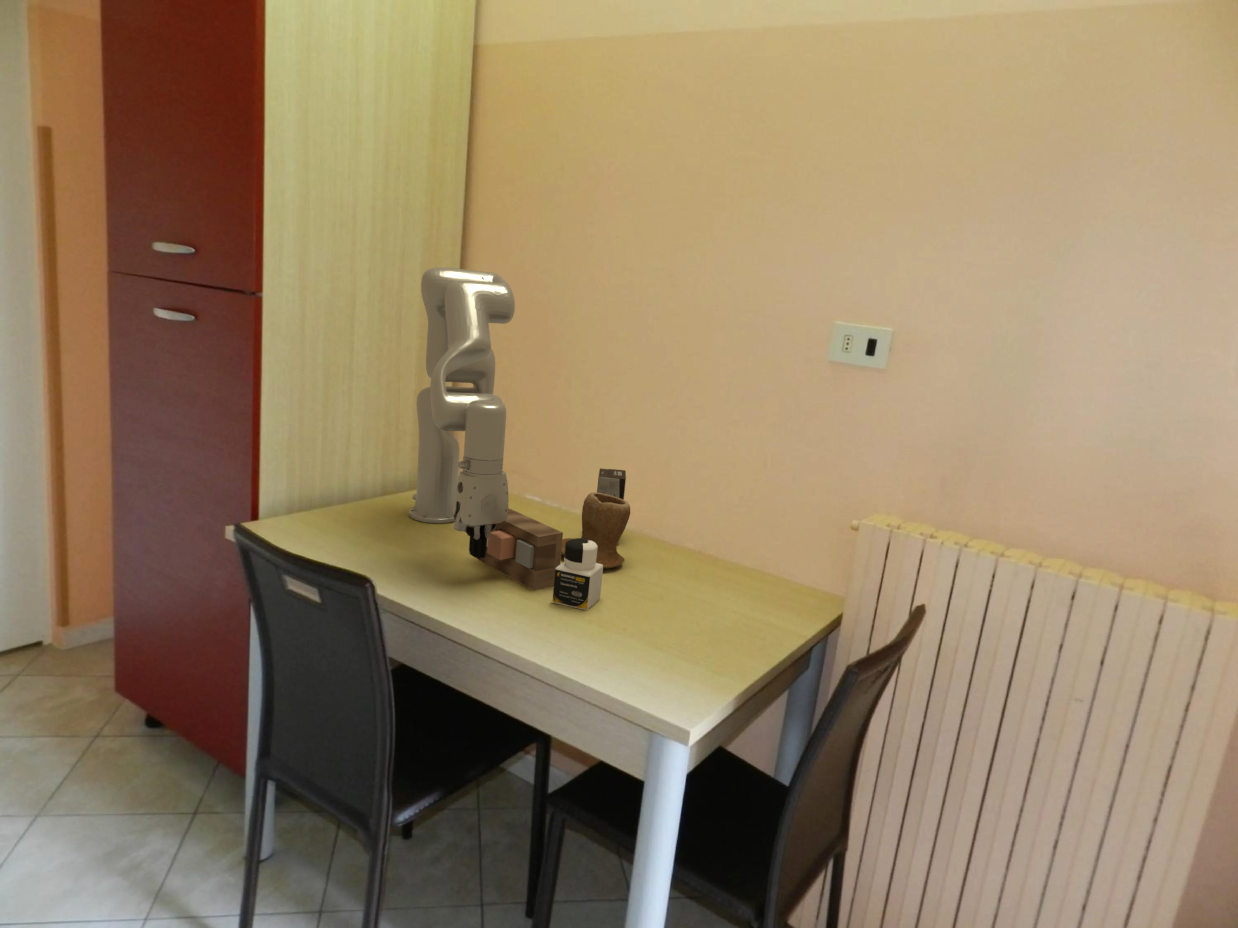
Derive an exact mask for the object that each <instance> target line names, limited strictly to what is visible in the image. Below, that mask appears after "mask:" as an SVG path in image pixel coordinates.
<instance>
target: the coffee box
mask: <svg viewBox="0 0 1238 928" xmlns="http://www.w3.org/2000/svg"><path fill="white" fill-rule="evenodd" d="M598 471H599V472H598V478H597V485H596V486H597V487H596V493H602V494H607V495H611V496H614V497H617V498H620V499H623V500H625V490H626V482H627V477H626V476H627V475H626V470H624V469H623V470H622V469H615V468H614V469H611V468H599V470H598ZM619 543H620V540H619V541H618V543H617V546H619Z"/></svg>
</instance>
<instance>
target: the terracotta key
mask: <svg viewBox="0 0 1238 928" xmlns="http://www.w3.org/2000/svg"><path fill="white" fill-rule="evenodd" d="M514 543H515V535H513V534H511V533H508V532H506V531H504V530H500V531H494V532H491V534H490V537H489V538H488V549H487V553H488V554H490V555H492V556H493V557H495V558H497V559H499V560H503V559H508V558H513V557H514Z"/></svg>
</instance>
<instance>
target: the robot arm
mask: <svg viewBox="0 0 1238 928" xmlns="http://www.w3.org/2000/svg"><path fill="white" fill-rule="evenodd" d="M422 274H423V275H422V276H421V283H420V285H421V286H420V292H421V298H422V302H423V304H424V305H423V306H424V309H425V311H426V317H427V332H426V333H427V334H426V335H427V336H426V351H425V353H426V354H425V371H426V375H427V376H428V377H429V378H430V384H429V386H428V387H424V388H423V389H421V390H420V391H419V393H418V394H417V396H416V414H417V422H418V454H417V472H416V473H417V474H416V478H417V480H416V493H414V494H413V495H412V497H411V498H412V500H414V501H415V505H414V506H412V507H411V508H409V510H408V516H409V517H410V518H411V519H413V520H415V521H418V522H423V523H431V524H446V523H453V522H454V524H453V529H454V530H455V531H458V532H463V533H466V535H467V536H469V541H468V542H469V544H468V551H469V552H468V553H469V555H470V556H472V557H474V558H475V559H480V558H485V554H486V548H487V538H489V537H490V534H491V532H492V530H493V529H494V528H495V527H497V526H499V525H502V524H503V523H504V521H505V520H506V519H507V517H508V508H509V487H508V486H509V485H508V483H509V482H508V478H507V472H506V471H505V470H504V469H503V468H504V467H503V466H504V454H505V438H506V428H507V427H506V425H507V408H506V405H505V403H504V402H503V400H502V399H501V397H500V396H498V395H496V394H494V388H495V377H496V357H495V352H494V350H493V348H492V342H491V334H490V325H489V324H499V325H500V324H501V325H502V324H503V325H505V324H508V323H510V322H511V321H512V319H513V318H514V315H515V311H516V310H515V309H516V307H515V306H516V305H515V297H514V292H513V290H512V288H511V287H510V285H509V284H508V282H507V281H506V280H505V279H504V278H503V277H502V275H500V274H498V273H495V272H491V271H482V270H472V269H463V268H452V267H433V268H429V269H427V270H426V271H424V272H423V273H422ZM446 383H464V384H466V383H467V384H472V385H473V386H472V387H464V386H450V385H449V386H448V385H446ZM452 432H464V445H463V446H464V447H463V456H462V461H459V460H460V459H459V458H460V444H459V441H458V440H457V438H456V437H455V436H454V435H453V434H452ZM459 469H461V470H462V471H460V472H459ZM503 470H504V471H503Z"/></svg>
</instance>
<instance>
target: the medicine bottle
mask: <svg viewBox="0 0 1238 928" xmlns="http://www.w3.org/2000/svg"><path fill="white" fill-rule="evenodd" d="M597 547H598V546H597V544H596V543H595V542H593V541H591V540H588V539H584V538H581V537H580V538H579V537H577V538H575V537H574V538H573V539H571V540H569V541H567V542H566V545H565V555H564V559H563V560H564V561H563V562H561V563H560V565H559V566H558V567H556V568H555V579H554V586H553V590H552V591H553V592H552V603H554V604H558V605H562V606H565V607H569V608H573V609H578V610H582V611H588V609H589V608H591V607H592V606H593V605H594V604H595V603H597V602H598V601H599V600H600V599H601V593H602V585H603V584H602V581H603V571H604V568H603V565H602V564H598V563H596V558H597Z"/></svg>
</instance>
